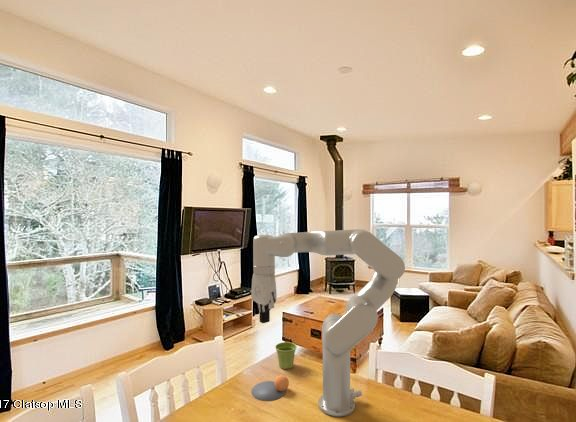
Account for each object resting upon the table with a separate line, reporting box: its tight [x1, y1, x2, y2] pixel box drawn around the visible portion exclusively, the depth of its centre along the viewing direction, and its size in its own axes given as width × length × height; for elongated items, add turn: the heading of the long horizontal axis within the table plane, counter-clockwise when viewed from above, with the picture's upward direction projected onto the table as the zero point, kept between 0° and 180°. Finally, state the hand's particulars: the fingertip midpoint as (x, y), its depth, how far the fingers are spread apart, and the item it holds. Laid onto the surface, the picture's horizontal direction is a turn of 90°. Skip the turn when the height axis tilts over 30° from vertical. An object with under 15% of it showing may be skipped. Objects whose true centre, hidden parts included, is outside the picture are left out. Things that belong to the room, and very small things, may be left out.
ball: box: [274, 374, 290, 391], centre depth 127 cm, size 6×6×6 cm
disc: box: [251, 380, 287, 402], centre depth 127 cm, size 13×13×1 cm
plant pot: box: [274, 341, 297, 370], centre depth 146 cm, size 9×9×9 cm
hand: (264, 321), depth 118 cm, fingers closed
